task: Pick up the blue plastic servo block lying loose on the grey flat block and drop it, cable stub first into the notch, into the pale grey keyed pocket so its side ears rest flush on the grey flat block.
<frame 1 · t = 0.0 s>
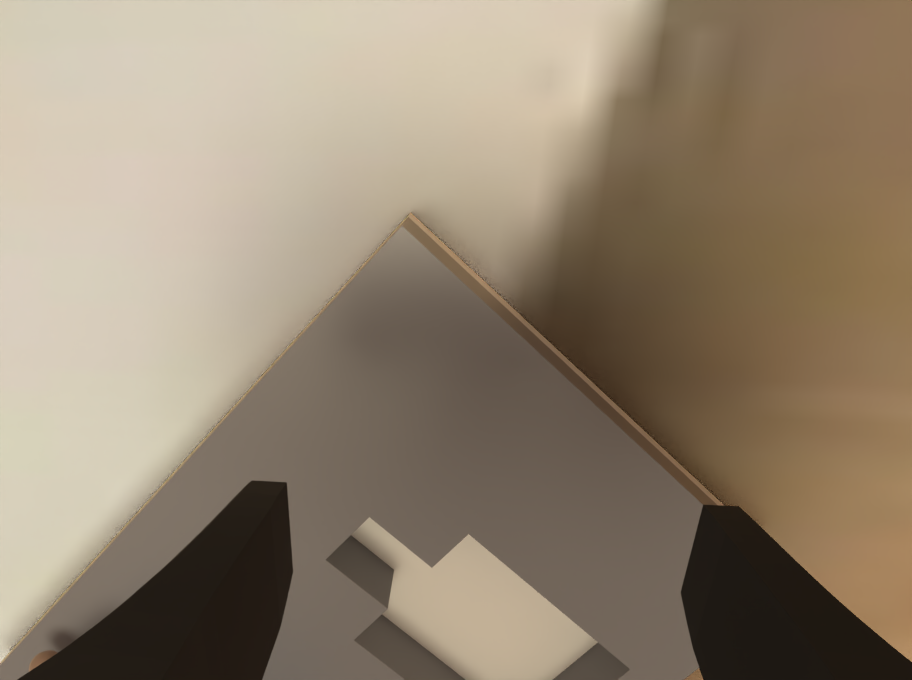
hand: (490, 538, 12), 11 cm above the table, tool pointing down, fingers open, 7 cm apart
grey flat block: (369, 596, 25), on the table
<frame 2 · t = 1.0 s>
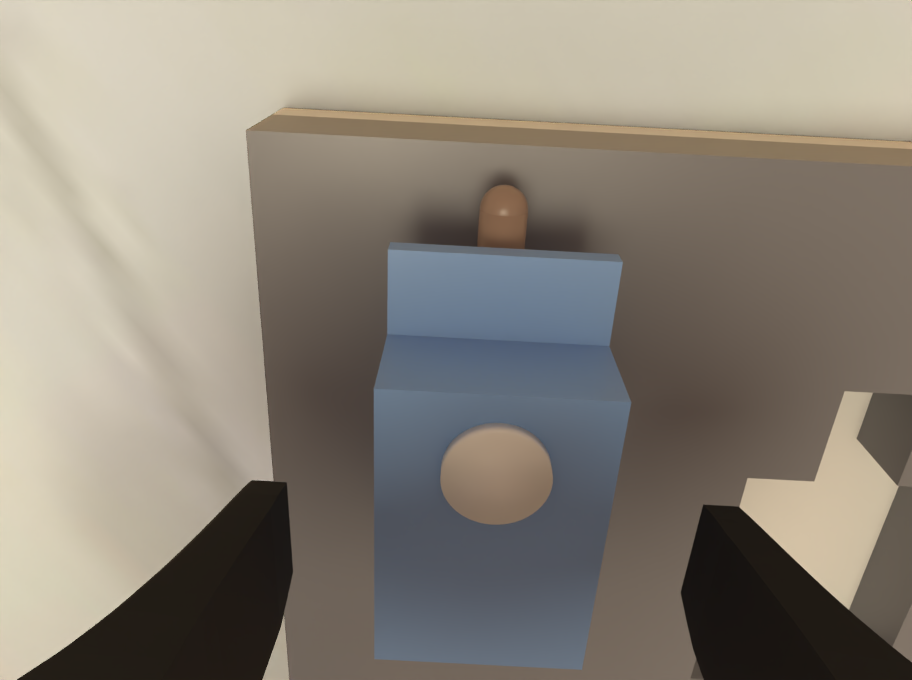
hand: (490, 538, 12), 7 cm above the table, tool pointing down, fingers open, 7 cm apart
servo: (484, 410, 16), point 3 cm above the table, touching grey flat block
grey flat block: (691, 426, 20), on the table
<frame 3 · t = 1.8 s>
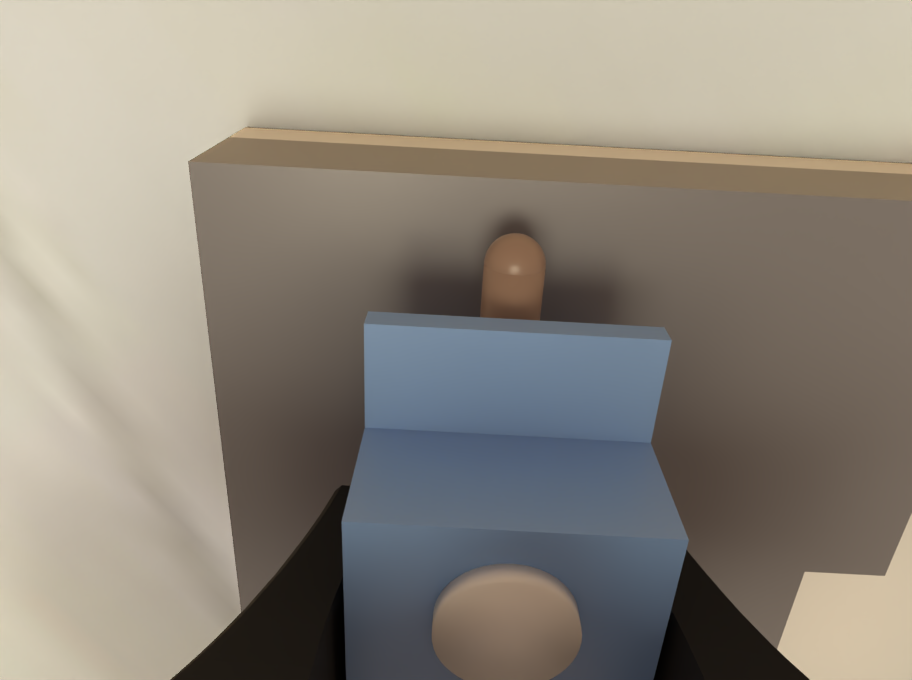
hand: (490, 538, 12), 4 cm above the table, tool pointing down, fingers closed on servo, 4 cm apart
servo: (489, 494, 13), point 3 cm above the table, touching grey flat block, gripper
grey flat block: (730, 494, 17), on the table
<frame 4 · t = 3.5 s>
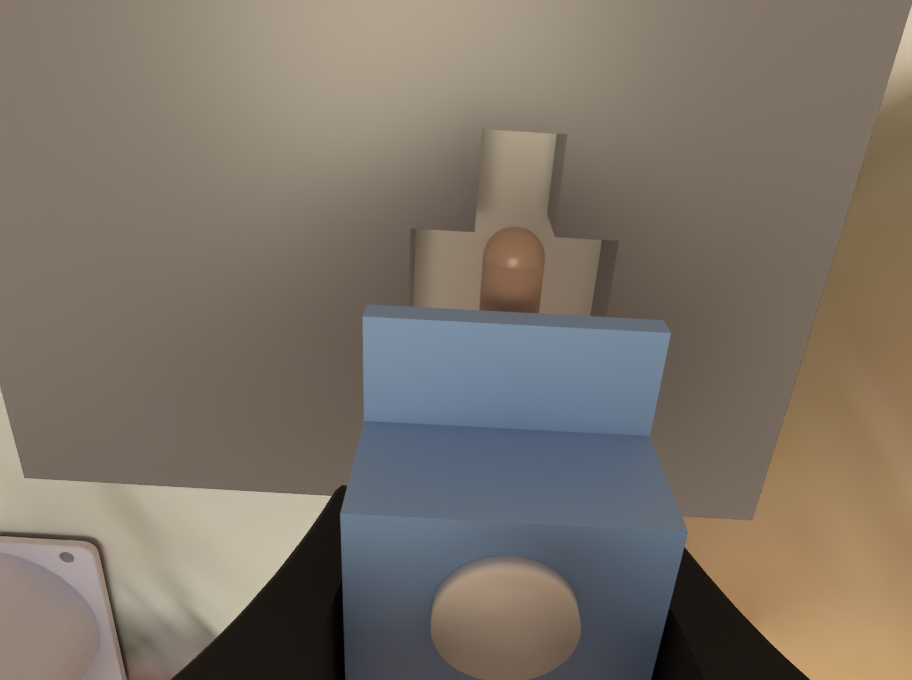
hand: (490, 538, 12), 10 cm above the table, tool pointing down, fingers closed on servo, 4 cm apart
servo: (488, 489, 13), point 9 cm above the table, touching gripper
grey flat block: (404, 213, 20), on the table
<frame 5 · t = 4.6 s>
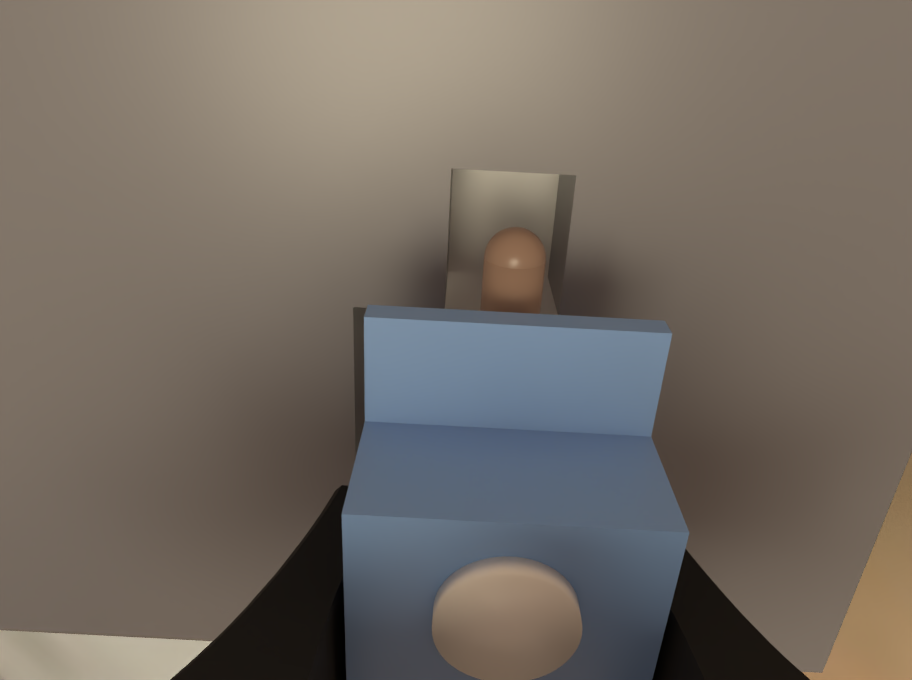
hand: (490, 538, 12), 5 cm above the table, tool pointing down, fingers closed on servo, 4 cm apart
servo: (489, 489, 13), point 4 cm above the table, touching gripper
grey flat block: (355, 271, 15), on the table
when the fingers open (4 cm above the table, at t = 5.2 s): servo drops 2 cm, resting on grey flat block.
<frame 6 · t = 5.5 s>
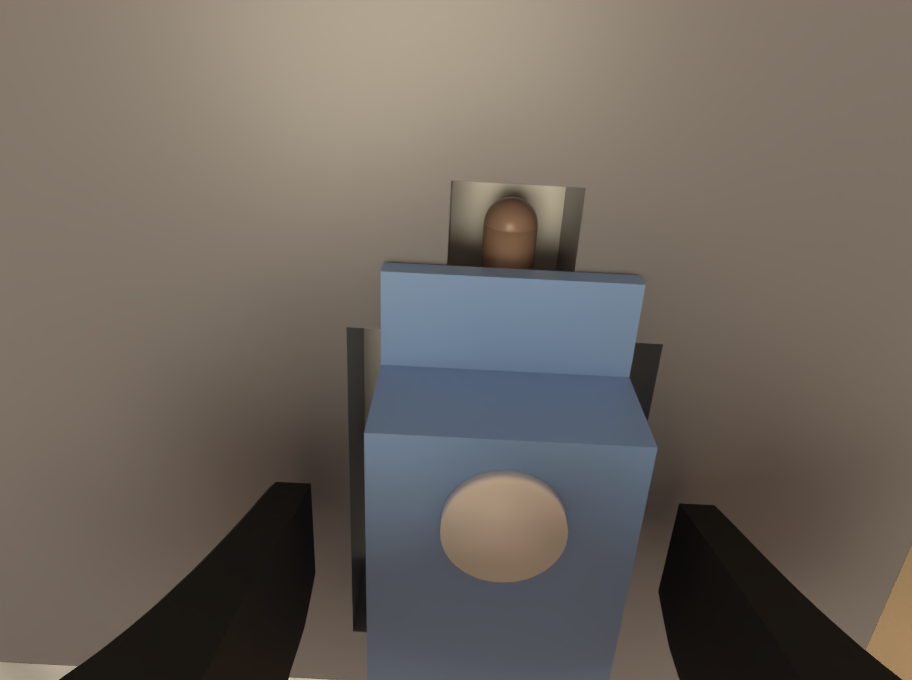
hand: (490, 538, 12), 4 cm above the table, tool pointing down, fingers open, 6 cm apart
servo: (489, 439, 15), point 1 cm above the table, touching grey flat block
grey flat block: (350, 285, 14), on the table
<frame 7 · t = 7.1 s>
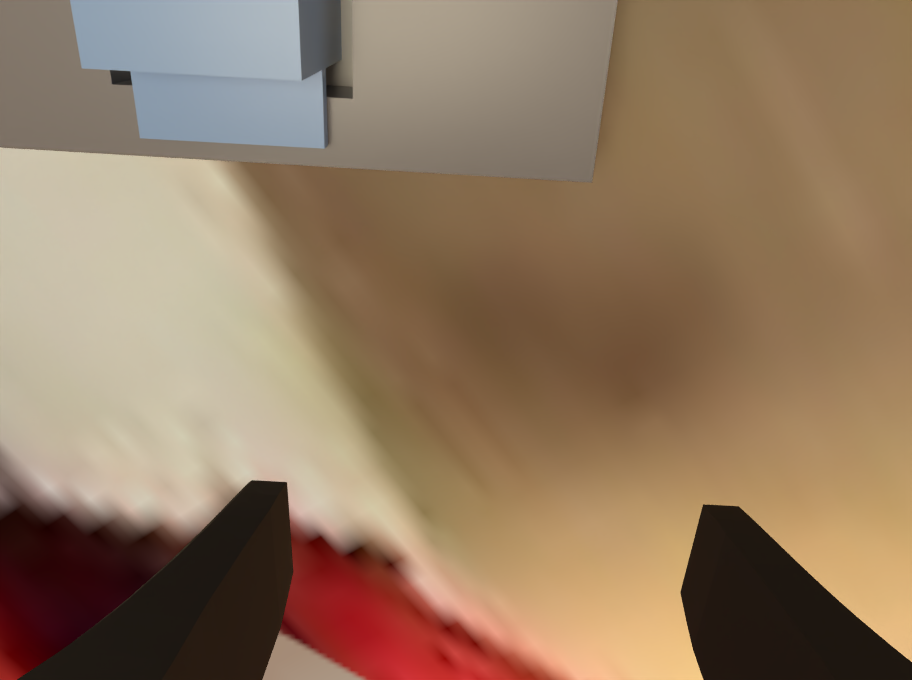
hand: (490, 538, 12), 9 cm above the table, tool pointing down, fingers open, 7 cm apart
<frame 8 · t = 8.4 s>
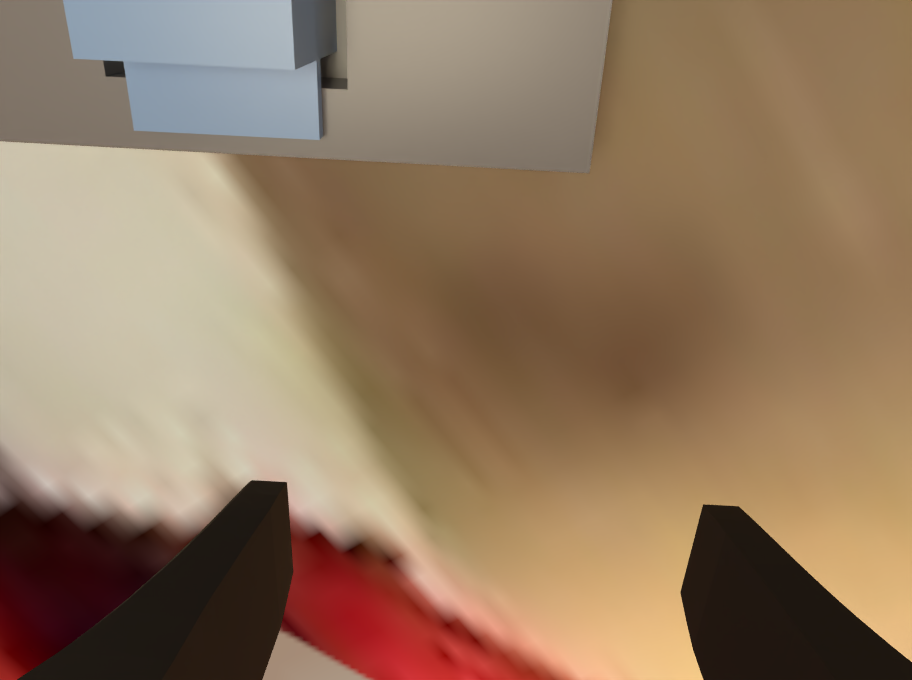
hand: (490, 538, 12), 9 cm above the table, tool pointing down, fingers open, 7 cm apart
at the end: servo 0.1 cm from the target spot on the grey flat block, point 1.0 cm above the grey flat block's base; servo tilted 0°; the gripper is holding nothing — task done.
